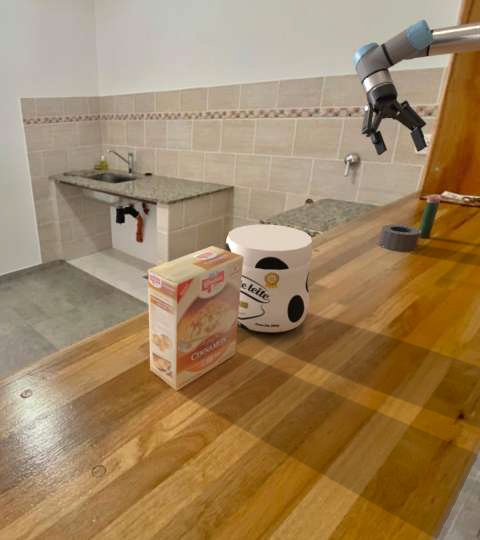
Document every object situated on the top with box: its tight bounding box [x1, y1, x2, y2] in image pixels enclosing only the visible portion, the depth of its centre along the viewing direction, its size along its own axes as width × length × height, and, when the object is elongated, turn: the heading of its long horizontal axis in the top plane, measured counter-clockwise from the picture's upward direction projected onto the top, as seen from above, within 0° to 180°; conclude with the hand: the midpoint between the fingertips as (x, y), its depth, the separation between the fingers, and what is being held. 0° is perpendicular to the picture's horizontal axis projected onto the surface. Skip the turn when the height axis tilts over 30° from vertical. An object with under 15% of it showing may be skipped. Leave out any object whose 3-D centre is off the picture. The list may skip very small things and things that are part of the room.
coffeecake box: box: [147, 245, 244, 392], centre depth 64 cm, size 15×7×20 cm, turn 126°
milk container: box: [224, 224, 313, 335], centre depth 76 cm, size 17×17×18 cm
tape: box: [378, 224, 421, 252], centre depth 109 cm, size 9×9×5 cm
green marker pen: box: [418, 196, 441, 239], centre depth 113 cm, size 3×3×12 cm
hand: (402, 150), depth 114 cm, fingers open, 13 cm apart
